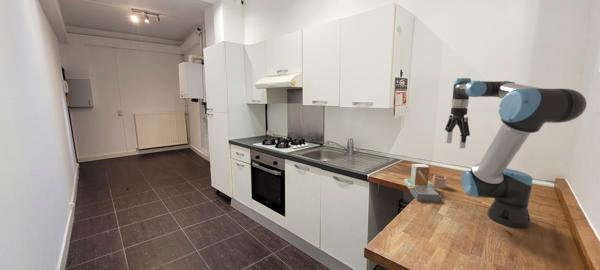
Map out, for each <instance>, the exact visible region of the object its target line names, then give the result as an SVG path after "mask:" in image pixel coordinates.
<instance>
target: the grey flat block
mask: <svg viewBox="0 0 600 270" xmlns="http://www.w3.org/2000/svg"><path fill="white" fill-rule="evenodd" d="M409 192H410V194H411V195H412V196H413V198H414V199H415V200H416V201H417V202H432V203H433V202H435V203H441V201H442V196H441V195H440V194H439V195H438V196H432V195H419V194H418V193H417V192H416V191H415V190H414V188H413V187H410V189H409Z"/></svg>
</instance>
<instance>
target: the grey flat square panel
mask: <svg viewBox="0 0 600 270" xmlns="http://www.w3.org/2000/svg"><path fill="white" fill-rule="evenodd" d="M413 188H414V190H415V191H416V193H417V194H418V195H427V196H438V195H440V194H439V193H438V192H437V191H436V190H435V188H434V189H433V188H432V187H425V186H413Z"/></svg>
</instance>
